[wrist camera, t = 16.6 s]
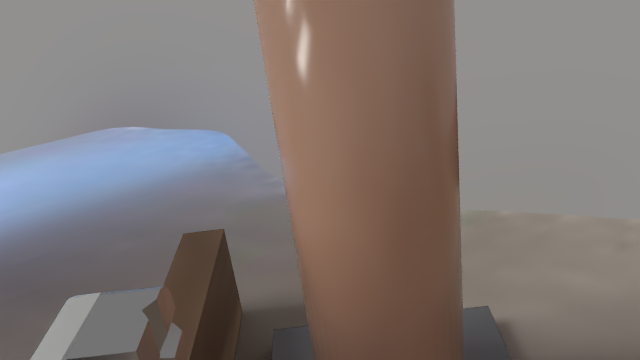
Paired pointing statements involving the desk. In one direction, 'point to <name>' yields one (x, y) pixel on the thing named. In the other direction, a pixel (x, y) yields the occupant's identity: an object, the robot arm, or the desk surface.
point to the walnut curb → (205, 296)
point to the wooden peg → (370, 171)
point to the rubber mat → (478, 328)
